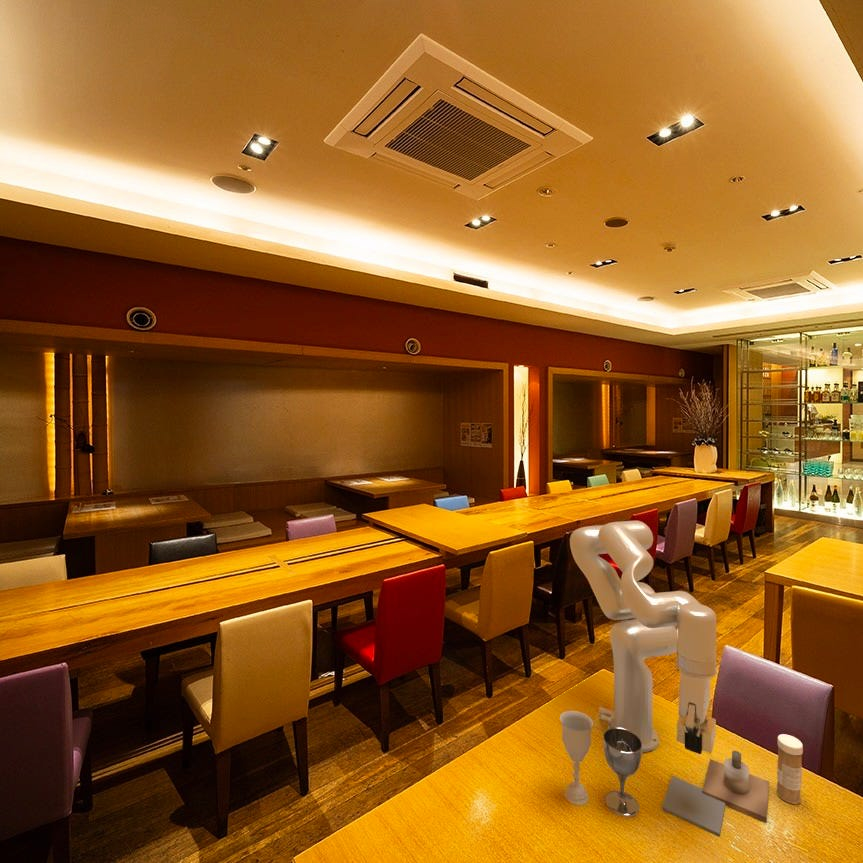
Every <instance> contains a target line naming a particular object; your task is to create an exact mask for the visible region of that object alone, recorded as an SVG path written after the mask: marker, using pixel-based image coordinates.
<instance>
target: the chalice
mask: <svg viewBox="0 0 863 863" xmlns="http://www.w3.org/2000/svg"><path fill="white" fill-rule="evenodd" d="M559 720H560V722H561V726H562V728H561V732H562V734H561V737H562V742H563V745H564V748H565V750H566V752H567V754H568V757H569V758H570V759H571V761H573V762H574V763H573V765H572V769H573V773H572V777H573V781H571V782H570V783H569V784H568V786H567V788H566V790H565V792H564V794H565V797H566V799H567V800H568V802H570V803H571V804H573V805H577V806H583V805H586V804H587V802H588V801H589V796H588V794H587V791H586V788H585V786H584V785H583V784H582V783H581V782H579V780H580V779H581V776H582V775H581V774H580V770H581V767H580V764H579V763H581V762H583V761H584V759H585V757H586V756H587V754H588V753H589V750H590V748H591V744H592V743H591V742H592V737H591V736H592V733H591V732H592V728H593V726H594V721H593V719H592V718H591V717H590V716H589V715H587V714H586V713H583V712H581V711H577V710H567V711H564V712H562V713H561V714H560V717H559Z"/></svg>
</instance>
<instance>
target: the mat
mask: <svg viewBox="0 0 863 863" xmlns="http://www.w3.org/2000/svg"><path fill="white" fill-rule="evenodd" d="M702 790H703V787H700V786H698V785H695V784H693V783H691V782H688V781H686V780H683V779H681V778H678V777H676V776H673V775H671V779H670V782H669V785H668V788H667V791H666V794H665V796H664V800H663V803H662V806H661V810H662V811H664V812H666V813H668V814H670V815H673V816H674V817H677V818H679V819H681V820H683V821H685V822H688V823H689V824H692V825H695V826H696V827H699V828H701V829H702V830H704V831H707V832H709V833H712V834H714V835H715V836H718V837H720V836H721V831H722V826H723V820H724V815H725V809H726V805H725V802H722V801H720V800H718V799H715V798H713V797H711V796H708V795H706V794H704V793H702Z"/></svg>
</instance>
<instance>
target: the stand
mask: <svg viewBox="0 0 863 863" xmlns="http://www.w3.org/2000/svg"><path fill="white" fill-rule="evenodd" d="M702 788H703V790H702V793H704V794H706V795H708V796H711V797H713V798H715V799H718V800H720V801H722V802H725V807H726V806H727V807H728V808H731V809H733V810H735V811H738V812H740V813H743V814H745V815H747V816H749V817H752V818H754V819H757V820H758V821H761V822H763V823H764V824H765V823H767V821H768V806H769V795H770V793H769V791H770V781H769V780H767V779H765V778H761V777H758V776H756V775H753V774H751V773H750V769H749V767H748V765H747V764H746V763H744V762H743V761H742V753H740V751H737V750H732V751H731V757H730V758H726V759H724V761H723V763H722V762H719V761H717V760H714V759H712V758H710V759H709V762H708V766H707V771H706V774H705V778H704V782H703V787H702Z"/></svg>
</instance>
